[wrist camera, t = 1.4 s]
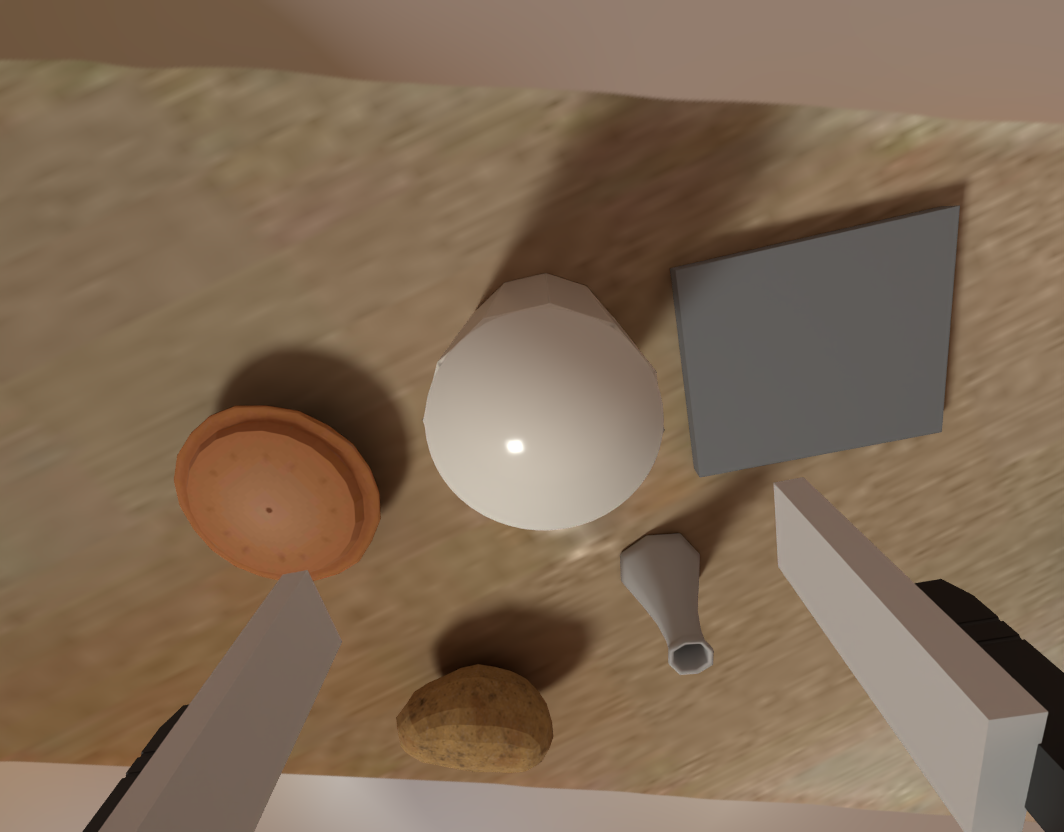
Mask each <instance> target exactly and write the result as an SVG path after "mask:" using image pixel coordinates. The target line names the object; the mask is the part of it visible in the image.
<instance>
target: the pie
mask: <svg viewBox="0 0 1064 832" xmlns="http://www.w3.org/2000/svg"><path fill="white" fill-rule="evenodd" d="M174 483H175V487H176V492H177V496H178V500H179V505H180V507H181V509H182V510H183V512H184V514H185V515H186V517H187V519H188V520H189V522H190V524H191V526H192V527H193V529H194V530H195V531H196V532H197V534H198V535H199V536H200V537H201V538H202V539H203V541H204V542H205V543H206V544H207V545H208V546H209V547H210V549H211V550H213V551H214V552H215V553H217V554H218V555H220V556H221V557H223V558H224V559H226V560H227V561H228V562H230V563H231V564H233V565H234V566H236V567H239V568H241V569H244V570H246V571H249V572H251V573H254V574H256V575H259V576H262V577H266V578H271V579H275V580H279V579H280V578H281V576H282V575H284V574H289V573H294V572H300V571H305V570H308V572H309V574H310V576H311V578H312V580H313V581H315V580H319V579H322V578H326V577H329V576H333V575H336V574H339V573H341V572H342V571H344V570H346V569H347V568H349V567H351V566H352V565H354V564H356V563H357V562H359V561H360V559H361V558H362V556H363V554H364V553H365V551H366V550H367V548H368V546H369V545H370V543H371V541H372V539H373V537H374V534H375V532H376V529H377V527H378V524H379V522H380V519H381V516H380V493H379V490H378V488H377V485H376V482H375V480H374V477H373V474H372V471H371V469H370V467H369V466H368V464H367V463H366V461H365V460H364V459H363V457H362V456H361V454H360V453H359V452H358V450H357V449H356V447H355V446H354V445H353V444H352V443H351V442H350V441H348V440H347V439H346V438H344V437H343V436H342V435H341V434H339V433H338V432H337V431H335V430H334V429H333V428H331V427H330V426H329V425H327V424H325V423H323V422H321V421H319V420H317V419H315V418H313V417H311V416H309V415H306V414H304V413H302V412H300V411H297V410H291V409H285V408H279V407H273V406H233V407H231V408H228V409H226V410H223V411H221V412H218V413H216V414H213V415H211V416H209V417H208V418H207V419H206V420H205V421H204V422H203V423H202V424H200V425H199V426H198V427H197V428H196V429H195V430H194V431H193V432H192V433H191V434H190V436H189V437H188V439H187V440H186V442H185V444H184V445H183V447H182V449H181V450H180V452H179V454H178V455H177V462H176V469H175V476H174Z"/></svg>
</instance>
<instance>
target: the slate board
mask: <svg viewBox="0 0 1064 832" xmlns="http://www.w3.org/2000/svg"><path fill="white" fill-rule="evenodd" d="M959 210H960V206H941V207H937V208H932V209H928V210H924V211H919V212H915V213H911V214H906V215H902V216H897V217H893V218H889V219H884V220H880V221H876V222H871V223H867V224H862V225H858V226H854V227H849V228H845V229H841V230H836V231H832V232H827V233H823V234H819V235H814V236H810V237H806V238H801V239H797V240H792V241H788V242H784V243H779V244H775V245H770V246H766V247H762V248H757V249H753V250H749V251H744V252H740V253H735V254H731V255H727V256H722V257H718V258H714V259H709V260H705V261H700V262H696V263H692V264H687V265H683V266H679V267H674V268H670V272H671V280H672V289H673V297H674V305H675V313H676V322H677V330H678V338H679V347H680V355H681V363H682V372H683V380H684V388H685V396H686V405H687V413H688V421H689V430H690V438H691V446H692V455H693V463H694V469H695V471H696V472H697V474H698V475H699V477H705V476H710V475H715V474H721V473H726V472H731V471H737V470H742V469H747V468H753V467H758V466H763V465H768V464H774V463H779V462H784V461H790V460H795V459H800V458H806V457H811V456H816V455H822V454H827V453H832V452H838V451H843V450H848V449H854V448H859V447H864V446H870V445H875V444H880V443H886V442H891V441H896V440H902V439H907V438H912V437H917V436H923V435H928V434H933V433H939V432H942V422H943V410H944V397H945V385H946V372H947V360H948V347H949V335H950V322H951V310H952V297H953V285H954V272H955V260H956V247H957V235H958V223H959Z"/></svg>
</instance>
